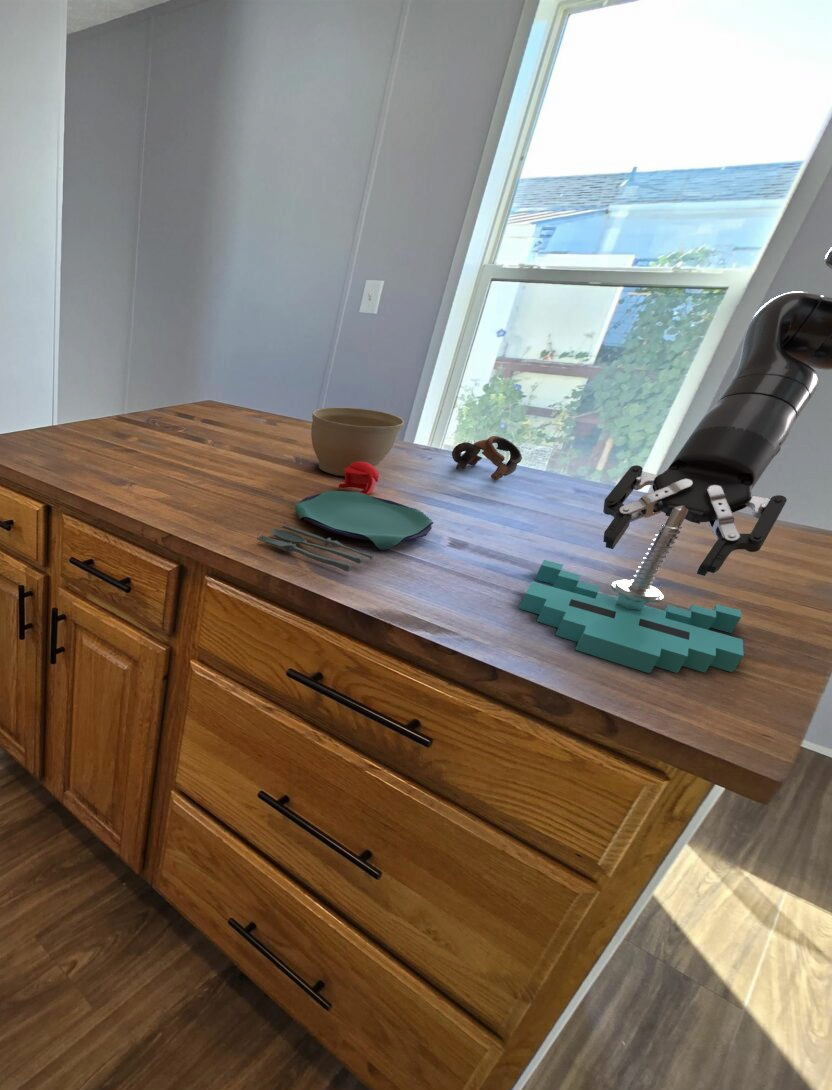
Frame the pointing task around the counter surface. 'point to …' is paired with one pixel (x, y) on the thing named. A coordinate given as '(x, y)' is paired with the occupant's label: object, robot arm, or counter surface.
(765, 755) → the counter surface
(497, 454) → the brown looped twisted part
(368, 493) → the cap
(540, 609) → the alien figure
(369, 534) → the cutlery set
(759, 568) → the counter surface
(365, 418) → the planter bowl
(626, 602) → the screw
